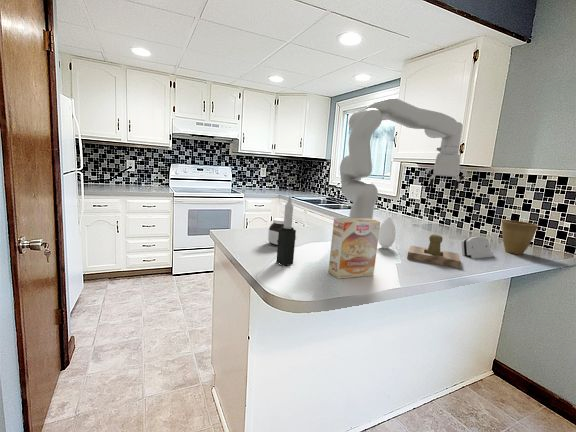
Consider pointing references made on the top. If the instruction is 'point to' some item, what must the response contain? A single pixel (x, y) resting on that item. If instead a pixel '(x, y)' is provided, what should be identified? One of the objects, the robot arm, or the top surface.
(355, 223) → the coffeecake box
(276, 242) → the spread jar
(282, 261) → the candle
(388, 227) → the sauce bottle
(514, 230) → the plant pot
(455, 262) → the tan flat frame
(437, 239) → the cork
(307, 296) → the top surface
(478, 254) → the grey piece
